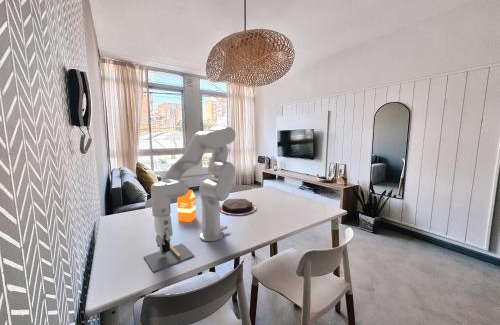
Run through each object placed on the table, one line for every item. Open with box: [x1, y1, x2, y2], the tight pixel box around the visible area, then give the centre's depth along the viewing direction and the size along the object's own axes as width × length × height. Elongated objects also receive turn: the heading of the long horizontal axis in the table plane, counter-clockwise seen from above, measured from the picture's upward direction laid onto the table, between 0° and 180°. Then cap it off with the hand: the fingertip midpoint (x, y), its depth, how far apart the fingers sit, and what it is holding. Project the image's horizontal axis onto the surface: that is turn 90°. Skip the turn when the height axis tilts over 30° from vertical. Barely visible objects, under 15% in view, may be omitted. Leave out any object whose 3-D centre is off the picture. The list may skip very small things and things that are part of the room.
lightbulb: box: [155, 233, 167, 255], centre depth 97 cm, size 6×6×11 cm
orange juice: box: [176, 189, 197, 223], centre depth 140 cm, size 8×9×20 cm
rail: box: [170, 243, 181, 260], centre depth 101 cm, size 1×13×2 cm, turn 41°
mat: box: [143, 243, 195, 274], centre depth 98 cm, size 18×14×1 cm
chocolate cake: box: [220, 198, 257, 216], centre depth 161 cm, size 28×28×7 cm
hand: (163, 248), depth 97 cm, fingers closed on lightbulb, 5 cm apart
